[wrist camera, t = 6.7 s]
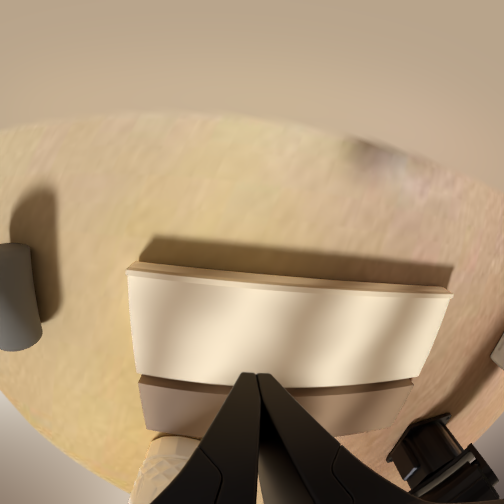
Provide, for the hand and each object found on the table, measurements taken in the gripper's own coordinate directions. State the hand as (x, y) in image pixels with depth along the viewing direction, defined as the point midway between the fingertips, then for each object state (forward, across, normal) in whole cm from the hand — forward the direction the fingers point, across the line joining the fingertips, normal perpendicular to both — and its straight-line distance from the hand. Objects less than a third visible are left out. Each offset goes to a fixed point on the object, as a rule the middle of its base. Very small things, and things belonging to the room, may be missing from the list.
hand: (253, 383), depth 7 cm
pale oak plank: (+8, -4, +3) cm, 9 cm away
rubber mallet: (+9, +18, +2) cm, 20 cm away
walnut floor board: (+8, -4, +10) cm, 13 cm away
